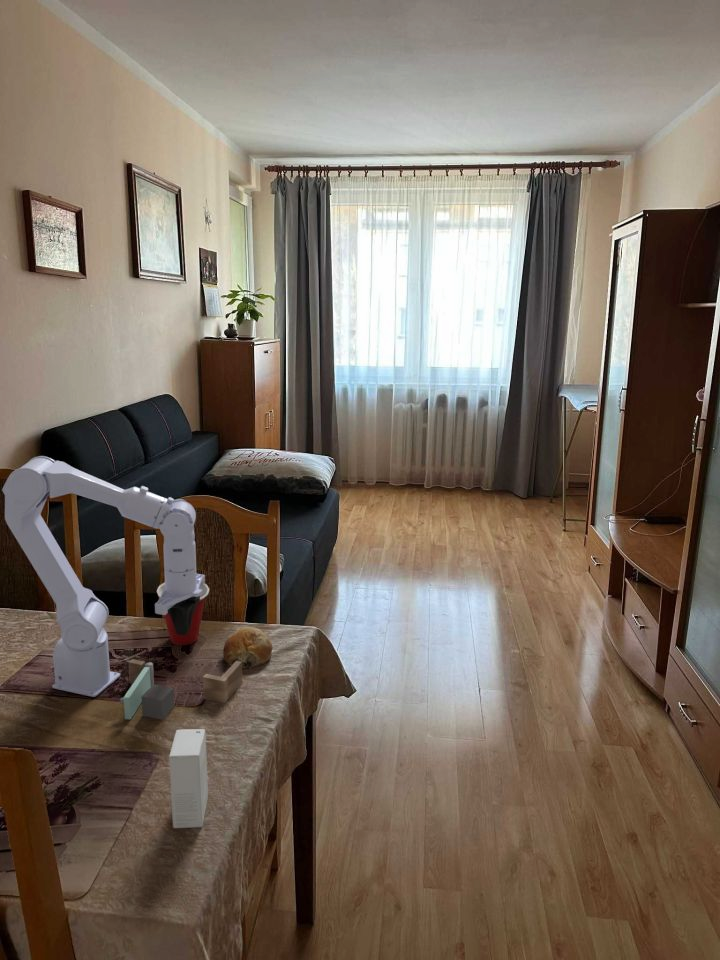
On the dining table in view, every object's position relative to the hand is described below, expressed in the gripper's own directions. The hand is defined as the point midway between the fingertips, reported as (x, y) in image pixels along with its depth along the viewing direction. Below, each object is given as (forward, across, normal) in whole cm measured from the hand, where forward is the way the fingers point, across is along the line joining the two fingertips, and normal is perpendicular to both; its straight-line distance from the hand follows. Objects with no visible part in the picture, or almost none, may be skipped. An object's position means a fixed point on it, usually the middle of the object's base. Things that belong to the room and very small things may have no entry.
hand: (182, 633), depth 127 cm
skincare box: (+10, -31, -19) cm, 37 cm away
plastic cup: (+10, +14, +8) cm, 19 cm away
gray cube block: (+10, -11, -1) cm, 15 cm away
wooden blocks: (+10, -1, -1) cm, 10 cm away
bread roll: (+10, +12, -8) cm, 17 cm away
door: (+10, -9, +4) cm, 14 cm away
